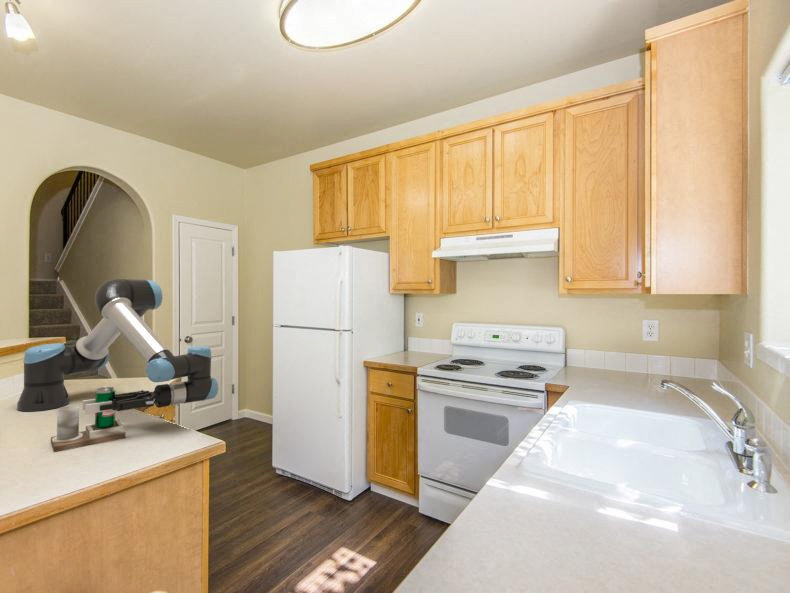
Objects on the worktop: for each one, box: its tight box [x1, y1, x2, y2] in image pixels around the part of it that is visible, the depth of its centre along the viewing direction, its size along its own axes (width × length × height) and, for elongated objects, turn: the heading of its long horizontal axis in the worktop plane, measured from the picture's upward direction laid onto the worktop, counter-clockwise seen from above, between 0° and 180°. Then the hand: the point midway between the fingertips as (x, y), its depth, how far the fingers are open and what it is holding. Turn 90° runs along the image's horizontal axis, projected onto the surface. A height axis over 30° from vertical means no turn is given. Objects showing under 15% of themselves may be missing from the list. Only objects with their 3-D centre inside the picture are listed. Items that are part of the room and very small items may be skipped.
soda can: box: [94, 386, 116, 429], centre depth 125 cm, size 5×5×12 cm
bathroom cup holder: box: [50, 405, 127, 453], centre depth 123 cm, size 17×10×10 cm, turn 135°
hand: (84, 407), depth 122 cm, fingers closed on soda can, 5 cm apart
